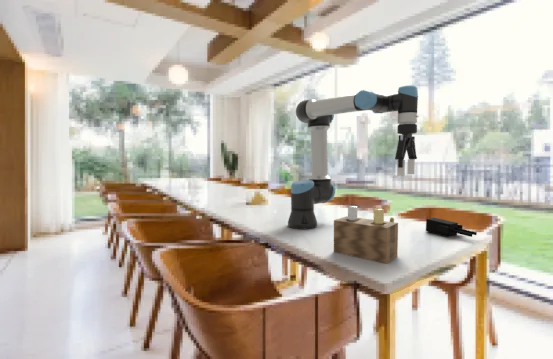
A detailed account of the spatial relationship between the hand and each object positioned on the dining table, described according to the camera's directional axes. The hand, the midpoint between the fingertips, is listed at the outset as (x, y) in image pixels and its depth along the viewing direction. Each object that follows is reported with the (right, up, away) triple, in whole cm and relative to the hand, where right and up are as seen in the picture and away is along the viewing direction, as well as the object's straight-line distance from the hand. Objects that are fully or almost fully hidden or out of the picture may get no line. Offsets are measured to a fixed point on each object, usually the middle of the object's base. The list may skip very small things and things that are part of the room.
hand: (406, 175), depth 130 cm
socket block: (-22, -29, -17) cm, 41 cm away
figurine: (-9, -27, +18) cm, 34 cm away
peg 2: (-19, -22, -21) cm, 36 cm away
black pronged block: (+23, -27, +8) cm, 37 cm away
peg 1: (-26, -22, -15) cm, 37 cm away
